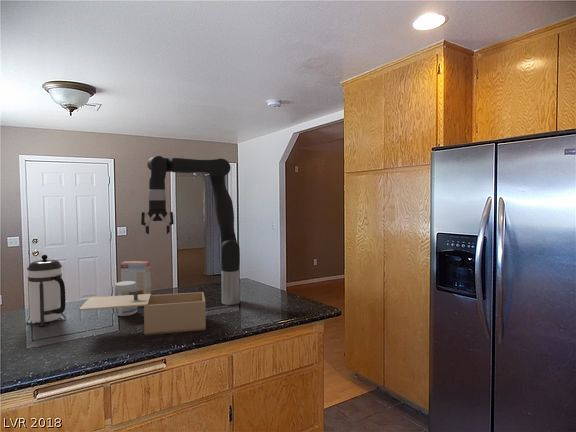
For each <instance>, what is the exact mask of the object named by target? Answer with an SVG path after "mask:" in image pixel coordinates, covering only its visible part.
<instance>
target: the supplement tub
mask: <svg viewBox="0 0 576 432" xmlns="http://www.w3.org/2000/svg"><path fill="white" fill-rule="evenodd" d="M129 291H137V288H136V282H135V281H123V282H121V281H118V282H115V283H114V296H123V295H129ZM114 309H115V311H114V312H115V315H116V316H119V317H129V316H132V315H135V314H136V313H137V312H138V306H135V307H121V308H114Z"/></svg>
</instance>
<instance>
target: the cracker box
mask: <svg viewBox="0 0 576 432" xmlns="http://www.w3.org/2000/svg"><path fill="white" fill-rule="evenodd" d="M151 269H152V268H151V261H150V260H149V261H148V260H147V261H145V260H137V261H136V260H131V261H130V260H126V261H122V262H120V282H123V281H135V282H136V288H137V291H142V294H151V295H152V279H151V278H152V277H151V276H152V275H151V272H152V271H151Z"/></svg>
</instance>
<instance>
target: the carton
mask: <svg viewBox="0 0 576 432" xmlns="http://www.w3.org/2000/svg"><path fill="white" fill-rule="evenodd" d="M206 305H207V303H206V297H205V293H204V292H203V291H199V292H196V291H195V292H184V293H168V294H153V295H152V294H151V296H150V299H149V302H148V305H147V306H143V318H144V319H143V321H144V322H143V325H144V326H143V329H144V333H143V334H144V336H152V335H153V336H154V335H164V334H175V333H184V332H185V333H186V332H196V331H206V330H207V327H206V326H207V325H206V324H207V322H206V319H207V318H206V316H207V315H206V311H207V310H206V307H207V306H206Z"/></svg>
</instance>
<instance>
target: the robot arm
mask: <svg viewBox="0 0 576 432" xmlns="http://www.w3.org/2000/svg"><path fill="white" fill-rule="evenodd" d="M146 165H147V168H148V169H149V170H150V173H151V174H150V177H149V181H148V212H146V211H142V212H141V220H140V221H141V223H140V224H141V225H142V226H144V227H145V234H146V235H150V223H152V221H153V222H162V221H163V222H164V224H166V225H165V226H166V235H169V233H170V232H171V230H170V229H171V226H173V225H174V224H175V221H174V212H173V211H167V196H166V195H167V194H166V175H167V173H168V172H169V173H178V174H192V173H194V174H195V173H196V174H197V173H208V176H209V179H210V183H211V188H212V195H213V201H214V211H215V216H216V219H217V224H218V228H219V231H220V241H221V242H220V245H221V246H220V249H221V250H220V251H221V265H220V267H221V269H220V270H221V272H220V273H221V278H220V279H221V304H223V305H226V306H230V305H231V306H232V305H237V304H238V305H239V304H241V285H240V261H241V259H240V258H241V257H240V255H241V254H240V253H241V252H240V250H241V249H240V245H239V243H238V240H237V237H236V232H235V211H234V205H233V200H232V197H231V195H230V193H229V192H228V191H229V190H228V189H227V186H226V183H225V176H227V175H228V174H229V173H230V171H231V164H230V162H229V161H228V160H227V159H224V158H215V159H195V158H184V157H169V158H168V157H163V156H161V155H155V156H152V157H150V158H148V160H147V163H146ZM147 215H148V216H149V219H148V221H147V222H145V220H146V219H145V218H146V217H147ZM167 216H168V217H170V222H169V221H168V220H167V218H166V217H167Z"/></svg>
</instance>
